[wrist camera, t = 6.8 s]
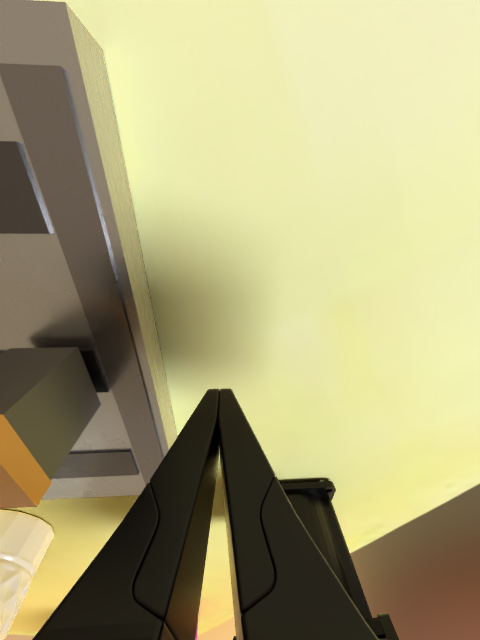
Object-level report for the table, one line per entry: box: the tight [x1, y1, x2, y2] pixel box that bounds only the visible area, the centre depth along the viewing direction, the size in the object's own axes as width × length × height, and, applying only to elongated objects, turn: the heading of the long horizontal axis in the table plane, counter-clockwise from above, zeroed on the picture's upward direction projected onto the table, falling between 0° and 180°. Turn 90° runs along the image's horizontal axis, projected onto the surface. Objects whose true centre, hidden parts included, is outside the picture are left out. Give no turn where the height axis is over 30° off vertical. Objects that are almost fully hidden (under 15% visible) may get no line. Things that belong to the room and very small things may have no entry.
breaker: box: [0, 347, 101, 508], centre depth 7 cm, size 2×3×4 cm
